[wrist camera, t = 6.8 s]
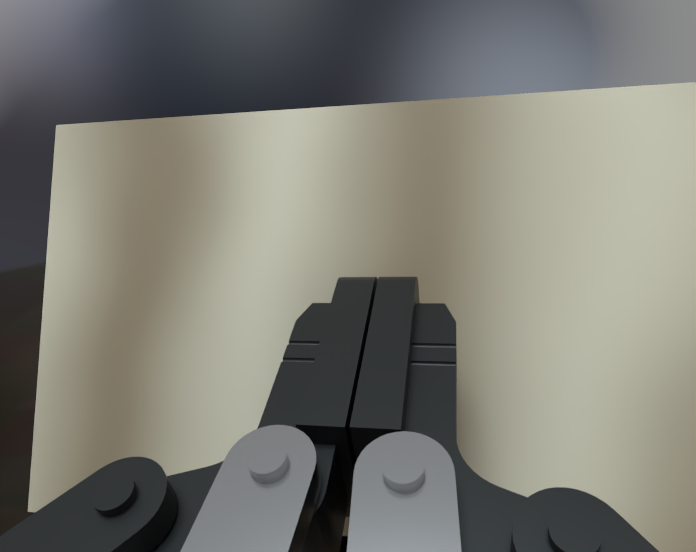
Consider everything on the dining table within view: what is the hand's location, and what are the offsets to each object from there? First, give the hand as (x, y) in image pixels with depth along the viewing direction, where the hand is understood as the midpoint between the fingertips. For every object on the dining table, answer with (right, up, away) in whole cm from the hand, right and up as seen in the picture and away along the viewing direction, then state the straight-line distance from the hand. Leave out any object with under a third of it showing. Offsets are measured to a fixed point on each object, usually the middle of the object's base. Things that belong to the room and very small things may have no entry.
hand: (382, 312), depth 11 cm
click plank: (0, 0, +2) cm, 2 cm away
